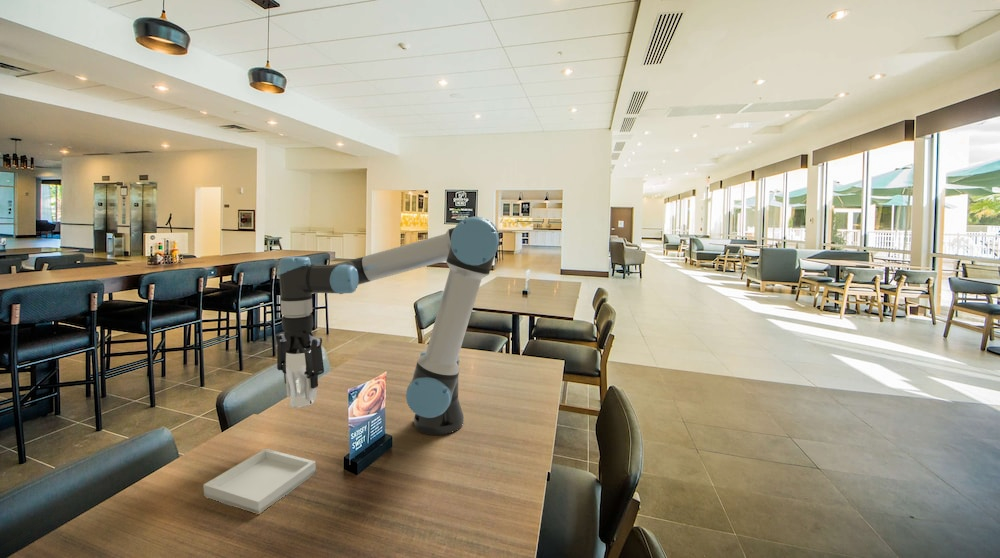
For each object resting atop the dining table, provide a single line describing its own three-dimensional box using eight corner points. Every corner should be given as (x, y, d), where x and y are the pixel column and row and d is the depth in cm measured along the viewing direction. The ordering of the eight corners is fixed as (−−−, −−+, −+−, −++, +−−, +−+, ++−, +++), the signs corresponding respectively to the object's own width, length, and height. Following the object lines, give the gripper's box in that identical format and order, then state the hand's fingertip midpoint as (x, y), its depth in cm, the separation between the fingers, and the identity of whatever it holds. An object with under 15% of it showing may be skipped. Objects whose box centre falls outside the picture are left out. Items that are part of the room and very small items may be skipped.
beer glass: (305, 409, 110) (302, 355, 108) (282, 407, 111) (278, 353, 109) (321, 399, 117) (318, 347, 115) (299, 396, 118) (296, 345, 116)
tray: (316, 472, 102) (315, 461, 101) (259, 515, 87) (258, 502, 86) (266, 459, 107) (265, 448, 106) (204, 497, 92) (203, 484, 91)
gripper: (336, 314, 111) (340, 396, 114) (280, 309, 117) (285, 387, 120) (316, 320, 104) (320, 408, 107) (257, 314, 110) (263, 397, 113)
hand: (301, 396), depth 114 cm, fingers closed on beer glass, 6 cm apart
